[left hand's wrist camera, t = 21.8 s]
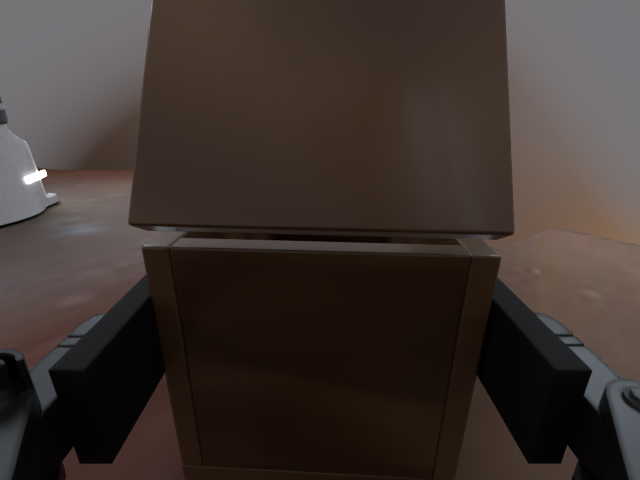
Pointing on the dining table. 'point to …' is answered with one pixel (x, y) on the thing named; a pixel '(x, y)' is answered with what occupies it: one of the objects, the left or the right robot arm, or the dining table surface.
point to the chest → (319, 351)
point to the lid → (325, 119)
